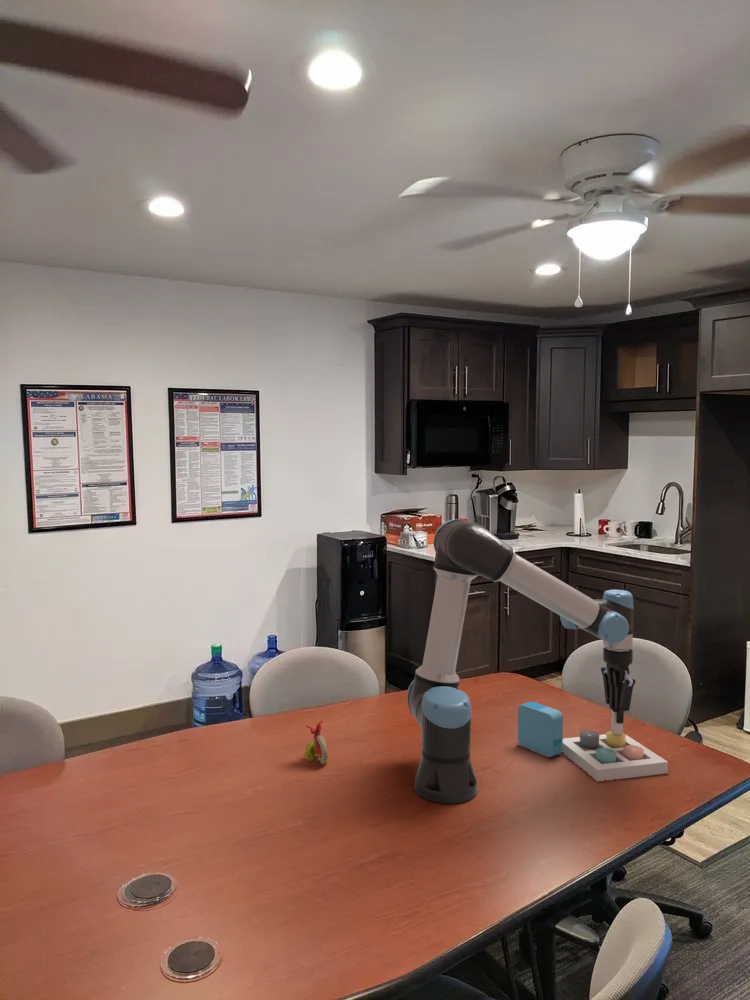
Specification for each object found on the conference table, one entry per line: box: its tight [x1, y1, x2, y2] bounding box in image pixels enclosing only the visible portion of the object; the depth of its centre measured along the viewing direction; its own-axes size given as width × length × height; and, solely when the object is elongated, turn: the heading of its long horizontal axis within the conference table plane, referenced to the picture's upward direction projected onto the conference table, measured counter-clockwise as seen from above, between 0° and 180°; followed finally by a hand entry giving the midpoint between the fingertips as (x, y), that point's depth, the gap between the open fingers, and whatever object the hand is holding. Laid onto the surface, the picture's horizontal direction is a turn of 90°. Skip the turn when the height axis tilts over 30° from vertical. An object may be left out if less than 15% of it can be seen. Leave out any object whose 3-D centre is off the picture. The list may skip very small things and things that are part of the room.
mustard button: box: [605, 730, 627, 748], centre depth 193 cm, size 5×5×3 cm
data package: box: [517, 701, 564, 758], centre depth 195 cm, size 12×4×12 cm, turn 38°
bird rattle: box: [303, 719, 329, 766], centre depth 187 cm, size 6×11×9 cm
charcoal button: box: [579, 729, 600, 749], centre depth 191 cm, size 5×5×3 cm
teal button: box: [596, 748, 616, 764], centre depth 183 cm, size 5×5×3 cm
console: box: [562, 733, 669, 782], centre depth 188 cm, size 20×20×3 cm
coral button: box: [623, 745, 644, 761], centre depth 185 cm, size 5×5×3 cm
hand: (617, 733), depth 193 cm, fingers closed
